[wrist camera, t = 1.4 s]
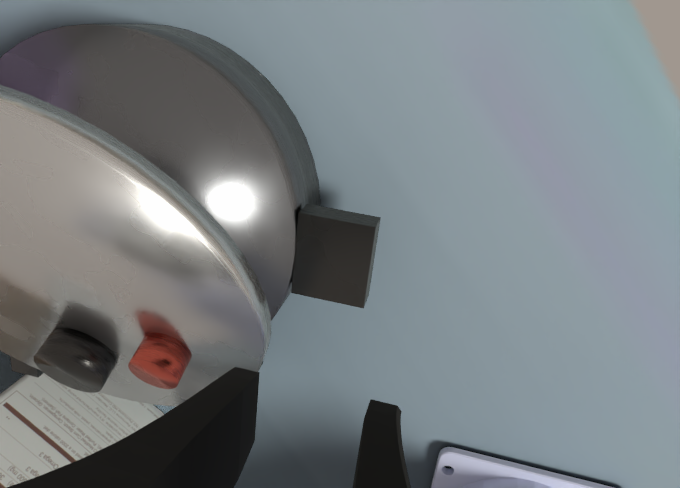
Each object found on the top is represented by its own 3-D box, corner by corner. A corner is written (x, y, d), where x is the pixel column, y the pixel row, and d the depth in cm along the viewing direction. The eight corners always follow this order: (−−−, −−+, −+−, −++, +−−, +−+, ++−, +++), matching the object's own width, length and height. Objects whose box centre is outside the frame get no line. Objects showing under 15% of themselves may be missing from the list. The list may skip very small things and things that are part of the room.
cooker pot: (360, 386, 24) (338, 455, 20) (-2, 300, 27) (-82, 346, 23) (412, 59, 19) (395, 68, 15) (-46, -5, 22) (-159, -10, 18)
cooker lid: (285, 419, 21) (269, 465, 20) (-22, 341, 23) (-53, 378, 22) (243, 121, 11) (207, 177, 10) (-287, 33, 13) (-368, 71, 12)
